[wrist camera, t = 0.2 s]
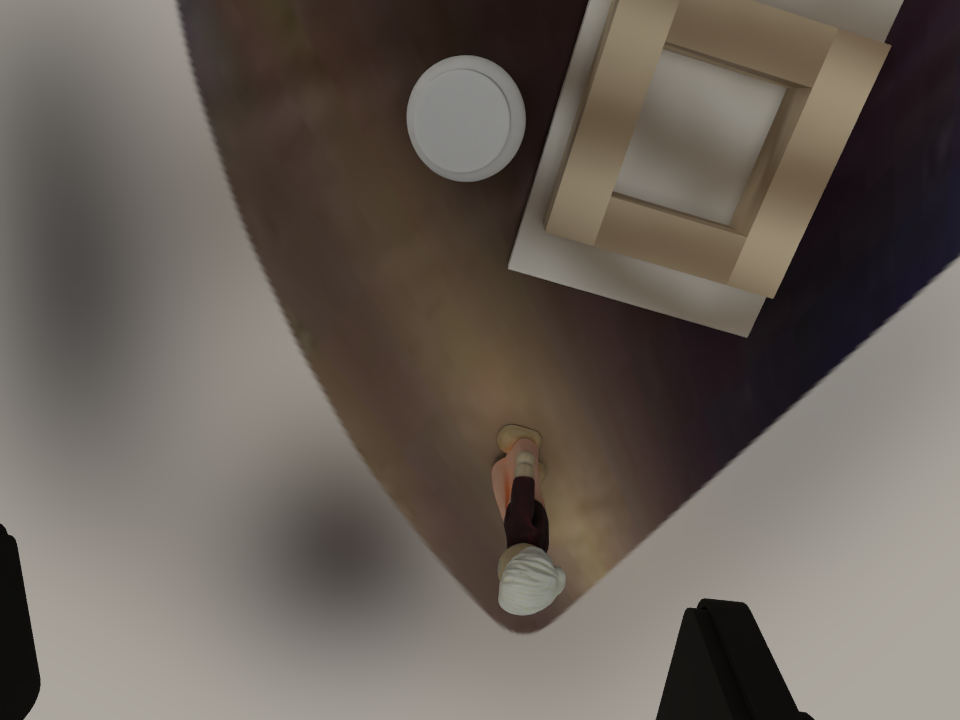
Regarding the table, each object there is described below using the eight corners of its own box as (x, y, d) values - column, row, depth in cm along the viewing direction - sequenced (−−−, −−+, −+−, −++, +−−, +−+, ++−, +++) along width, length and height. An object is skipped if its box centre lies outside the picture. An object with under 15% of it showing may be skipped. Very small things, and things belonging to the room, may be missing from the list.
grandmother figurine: (474, 418, 42) (461, 547, 30) (535, 402, 41) (545, 528, 29) (509, 519, 44) (509, 675, 32) (566, 506, 44) (587, 660, 32)
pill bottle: (544, 122, 35) (555, 132, 27) (467, 189, 37) (456, 218, 28) (478, 36, 34) (468, 19, 26) (401, 109, 35) (368, 115, 27)
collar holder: (619, -102, 31) (634, -128, 28) (898, -10, 32) (948, -23, 29) (507, 264, 38) (507, 283, 34) (741, 331, 39) (766, 357, 35)
